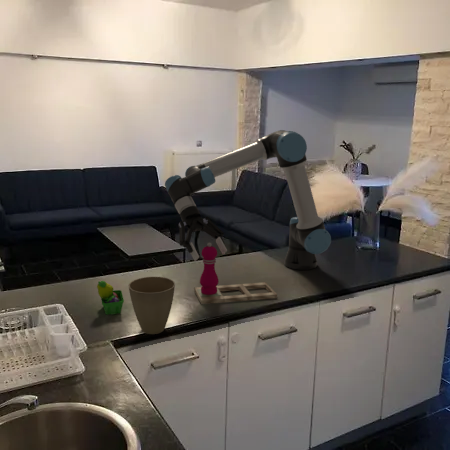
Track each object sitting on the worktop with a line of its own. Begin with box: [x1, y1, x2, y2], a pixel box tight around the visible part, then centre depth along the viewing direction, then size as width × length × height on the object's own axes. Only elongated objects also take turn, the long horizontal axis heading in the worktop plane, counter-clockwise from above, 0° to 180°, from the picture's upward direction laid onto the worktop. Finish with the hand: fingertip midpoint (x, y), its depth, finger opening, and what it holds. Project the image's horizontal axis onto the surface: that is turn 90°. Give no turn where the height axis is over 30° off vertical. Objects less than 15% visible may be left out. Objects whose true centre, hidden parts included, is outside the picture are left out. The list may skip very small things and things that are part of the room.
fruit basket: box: [96, 280, 125, 316], centre depth 181 cm, size 11×9×11 cm
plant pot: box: [128, 276, 176, 335], centre depth 165 cm, size 15×15×16 cm
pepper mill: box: [199, 242, 219, 295], centre depth 193 cm, size 7×7×20 cm
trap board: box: [193, 281, 278, 305], centre depth 198 cm, size 30×14×2 cm, turn 104°
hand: (211, 255), depth 191 cm, fingers open, 13 cm apart
